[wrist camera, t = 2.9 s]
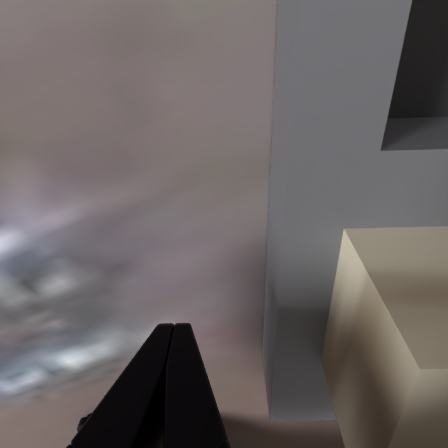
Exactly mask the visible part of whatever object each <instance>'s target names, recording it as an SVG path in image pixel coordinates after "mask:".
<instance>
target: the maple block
mask: <svg viewBox="0 0 448 448" xmlns="http://www.w3.org/2000/svg"><path fill="white" fill-rule="evenodd" d="M321 363H322V366H323V370H324V374H325V377H326V381H327V384H328V388H329V392H330V395H331V399H332V403H333V406H334V410H335V413H336V417H337V421H338V424H339V428H340V432H341V435H342V439H343V443H344V446H345V448H448V226H437V227H396V228H356V229H344V231H343V236H342V242H341V248H340V254H339V259H338V265H337V271H336V276H335V282H334V288H333V293H332V299H331V305H330V310H329V316H328V322H327V327H326V333H325V339H324V344H323V350H322V356H321Z"/></svg>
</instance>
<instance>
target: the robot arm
mask: <svg viewBox="0 0 448 448" xmlns="http://www.w3.org/2000/svg"><path fill="white" fill-rule="evenodd" d="M77 431H78V433H77V434H76V436H75V437H74V438H73V440H72V441H71V444H69V445H68V446H67V447H66V448H231V447H230V443H229V442H228V438H227V435H226V432H225V429H224V426H223V422H222V419H221V416H220V413H219V410H218V407H217V404H216V401H215V398H214V395H213V392H212V388H211V385H210V382H209V379H208V376H207V373H206V370H205V367H204V364H203V361H202V358H201V354H200V351H199V348H198V345H197V342H196V339H195V336H194V333H193V330H192V327H191V324H190V323H176V324H175V325H174V324H172V323H164V324H159V325H157V326H156V328H155V329H154V330H153V332H152V333H151V334H150V336H149V337H148V339H147V340H146V341H145V343H144V344H143V345H142V347H141V348H140V349H139V351H138V352H137V353H136V355H135V356H134V357H133V359H132V360H131V361H130V363H129V364H128V365H127V367H126V368H125V370H124V371H123V372H122V374H121V375H120V376H119V378H118V379H117V380H116V382H115V383H114V384H113V386H112V387H111V388H110V390H109V391H108V392H107V394H106V395H105V396H104V398H103V399H102V400H101V402H100V403H99V405H98V406H97V407H96V409H95V410H94V411H93V413H92V414H91V415H90V417H83V418H81V419H80V421H79V424H78V427H77Z"/></svg>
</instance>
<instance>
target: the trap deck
mask: <svg viewBox="0 0 448 448" xmlns="http://www.w3.org/2000/svg"><path fill="white" fill-rule="evenodd" d="M437 226H448V0H278V1H277V24H276V47H275V70H274V94H273V117H272V140H271V163H270V187H269V210H268V233H267V256H266V280H265V303H264V326H263V349H262V357H263V366H264V375H265V383H266V392H267V401H268V410H269V419H270V422H285V421H337V417H336V413H335V410H334V406H333V403H332V399H331V395H330V392H329V388H328V384H327V381H326V377H325V374H324V370H323V366H322V363H321V356H322V350H323V344H324V339H325V333H326V327H327V322H328V316H329V310H330V305H331V299H332V293H333V288H334V282H335V276H336V271H337V265H338V259H339V254H340V248H341V242H342V236H343V231H344V229H356V228H396V227H437Z"/></svg>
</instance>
